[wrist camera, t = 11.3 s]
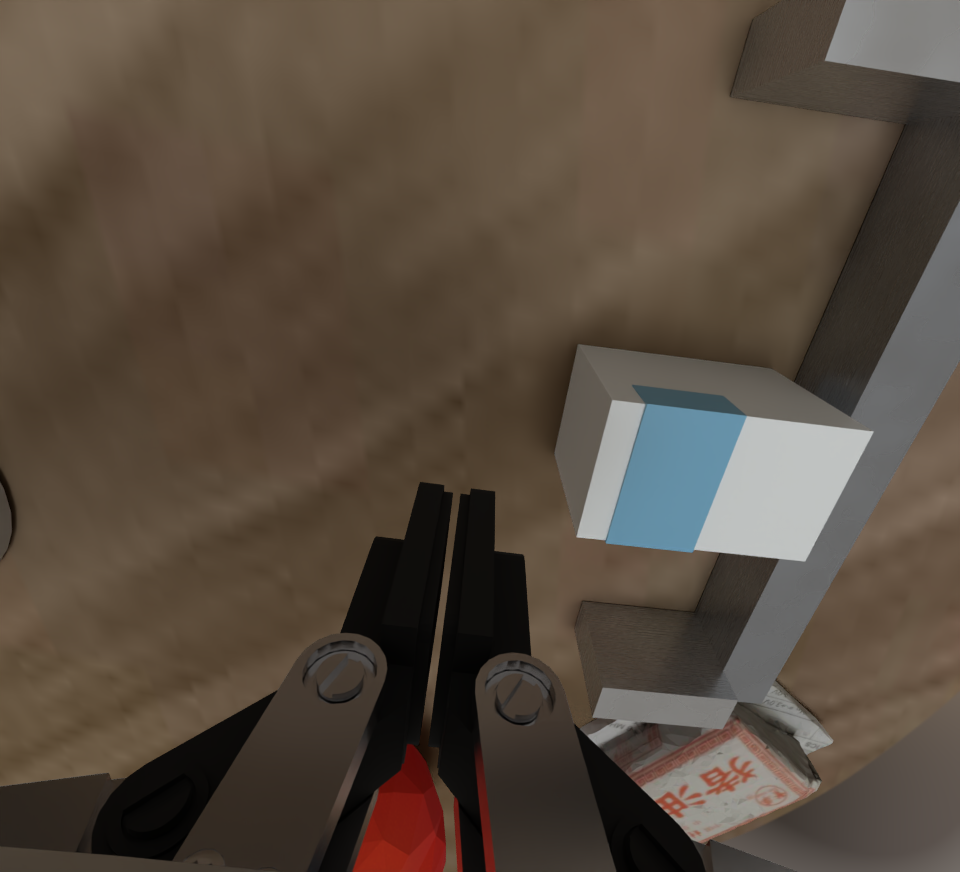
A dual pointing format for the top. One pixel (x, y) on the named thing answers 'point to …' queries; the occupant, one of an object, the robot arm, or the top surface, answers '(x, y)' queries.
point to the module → (700, 455)
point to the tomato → (405, 823)
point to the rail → (822, 352)
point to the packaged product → (720, 762)
